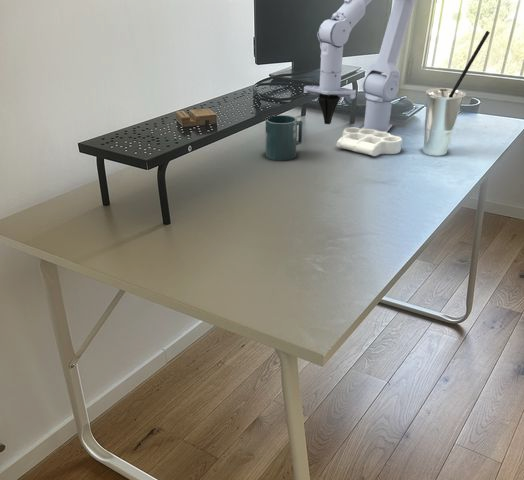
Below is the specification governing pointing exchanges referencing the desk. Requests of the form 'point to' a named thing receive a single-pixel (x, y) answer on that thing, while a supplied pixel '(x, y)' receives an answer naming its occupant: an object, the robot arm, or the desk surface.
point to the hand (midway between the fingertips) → (327, 123)
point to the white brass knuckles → (369, 141)
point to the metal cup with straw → (444, 112)
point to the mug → (282, 137)
